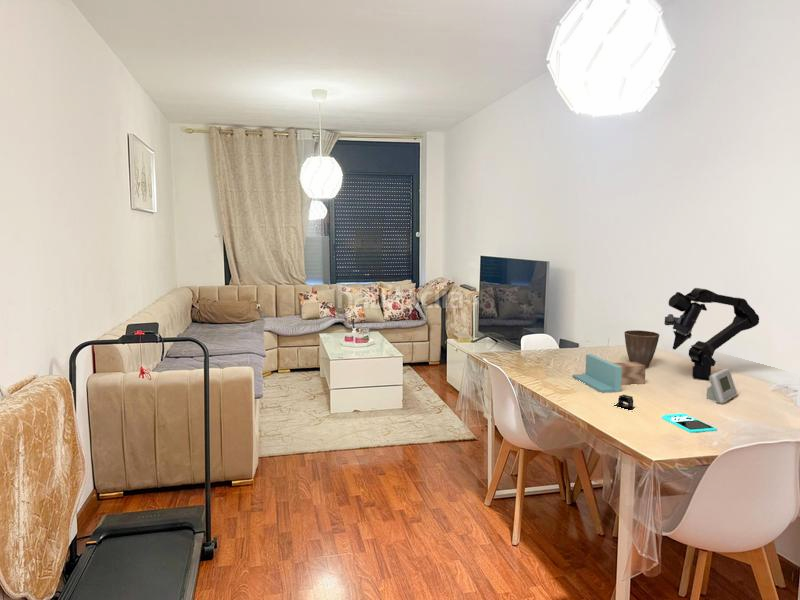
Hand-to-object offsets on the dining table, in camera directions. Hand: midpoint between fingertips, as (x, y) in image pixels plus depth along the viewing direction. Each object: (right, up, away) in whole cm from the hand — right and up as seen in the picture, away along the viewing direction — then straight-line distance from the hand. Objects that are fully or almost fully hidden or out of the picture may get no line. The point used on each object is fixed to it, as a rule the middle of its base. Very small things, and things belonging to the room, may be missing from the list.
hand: (673, 349), depth 243 cm
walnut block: (-23, -14, -3) cm, 27 cm away
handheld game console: (-21, -21, -53) cm, 61 cm away
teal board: (-35, -14, -5) cm, 38 cm away
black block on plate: (-34, -19, -35) cm, 53 cm away
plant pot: (-4, -10, +24) cm, 26 cm away
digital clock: (+6, -17, -26) cm, 32 cm away
